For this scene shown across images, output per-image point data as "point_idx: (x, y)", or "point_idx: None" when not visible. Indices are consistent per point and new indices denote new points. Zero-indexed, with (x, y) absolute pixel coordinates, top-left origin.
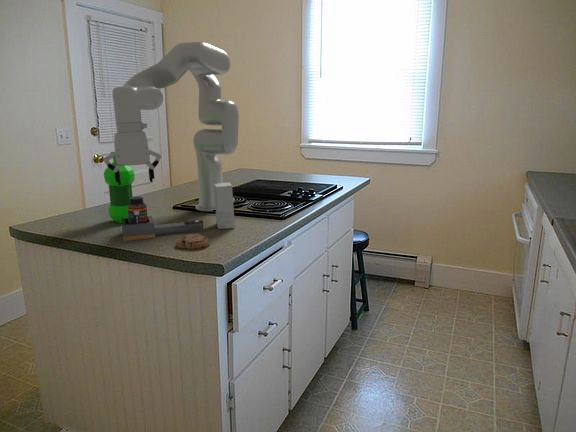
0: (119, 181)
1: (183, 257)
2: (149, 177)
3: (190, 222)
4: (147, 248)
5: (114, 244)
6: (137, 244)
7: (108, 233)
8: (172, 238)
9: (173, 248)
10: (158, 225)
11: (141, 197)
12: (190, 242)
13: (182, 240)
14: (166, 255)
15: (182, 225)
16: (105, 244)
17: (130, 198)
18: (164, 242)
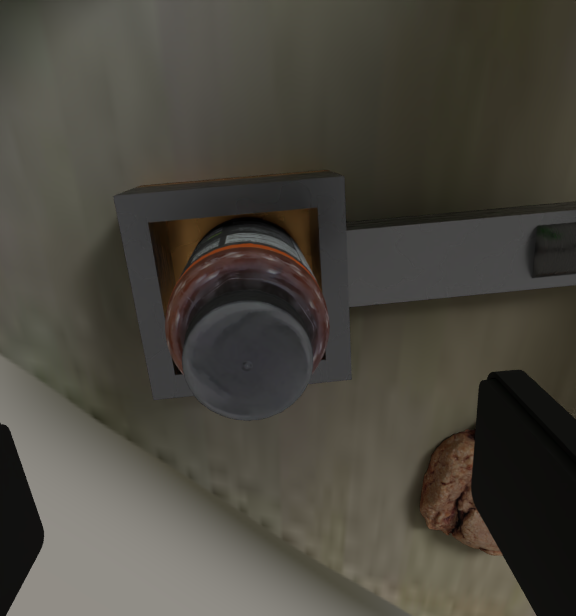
0: (9, 586)
1: (422, 602)
2: (502, 449)
3: (573, 269)
4: (294, 486)
5: (133, 399)
6: (247, 423)
7: (49, 170)
8: (419, 370)
9: (402, 507)
10: (372, 249)
11: (300, 366)
12: (481, 546)
13: (456, 499)
14: (365, 574)
15: (513, 289)
16: (85, 388)
17: (190, 389)
18: (374, 423)
